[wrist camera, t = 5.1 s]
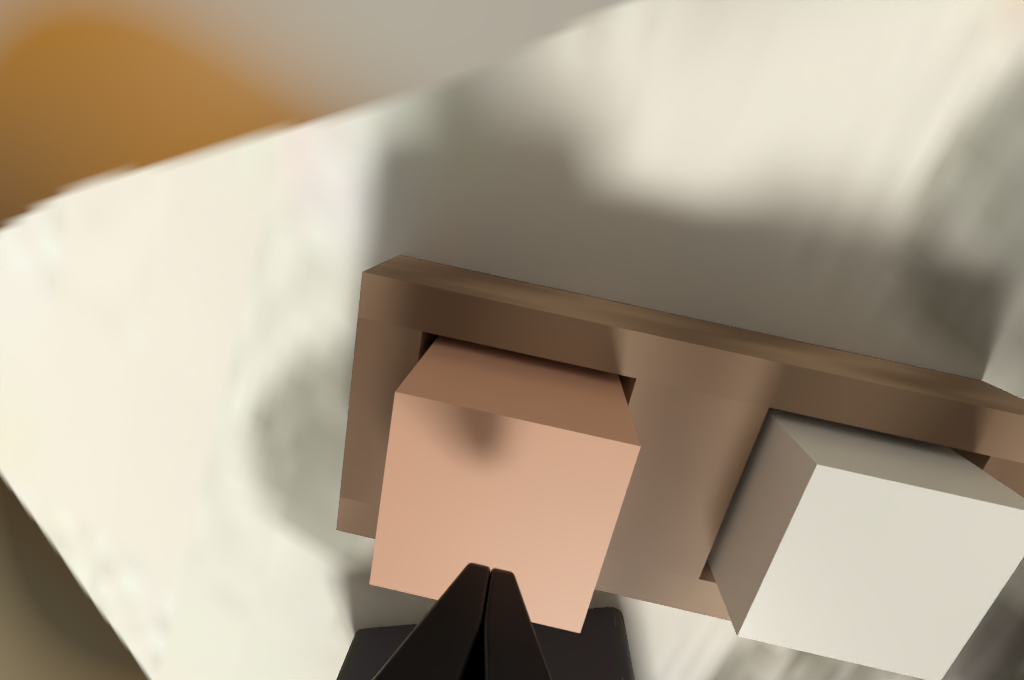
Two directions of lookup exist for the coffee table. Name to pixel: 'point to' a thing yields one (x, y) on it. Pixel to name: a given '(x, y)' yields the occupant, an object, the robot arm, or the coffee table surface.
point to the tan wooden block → (504, 476)
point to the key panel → (655, 406)
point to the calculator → (568, 655)
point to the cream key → (864, 545)
